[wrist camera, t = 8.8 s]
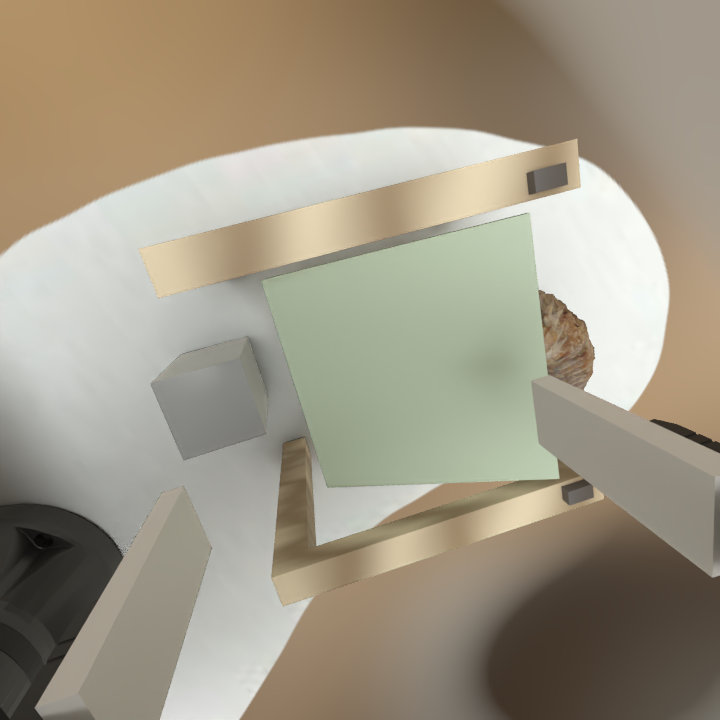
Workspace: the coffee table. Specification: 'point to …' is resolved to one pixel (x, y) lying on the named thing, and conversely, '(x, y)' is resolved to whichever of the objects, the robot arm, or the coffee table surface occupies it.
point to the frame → (295, 503)
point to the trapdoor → (420, 359)
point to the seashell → (565, 343)
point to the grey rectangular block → (213, 397)
